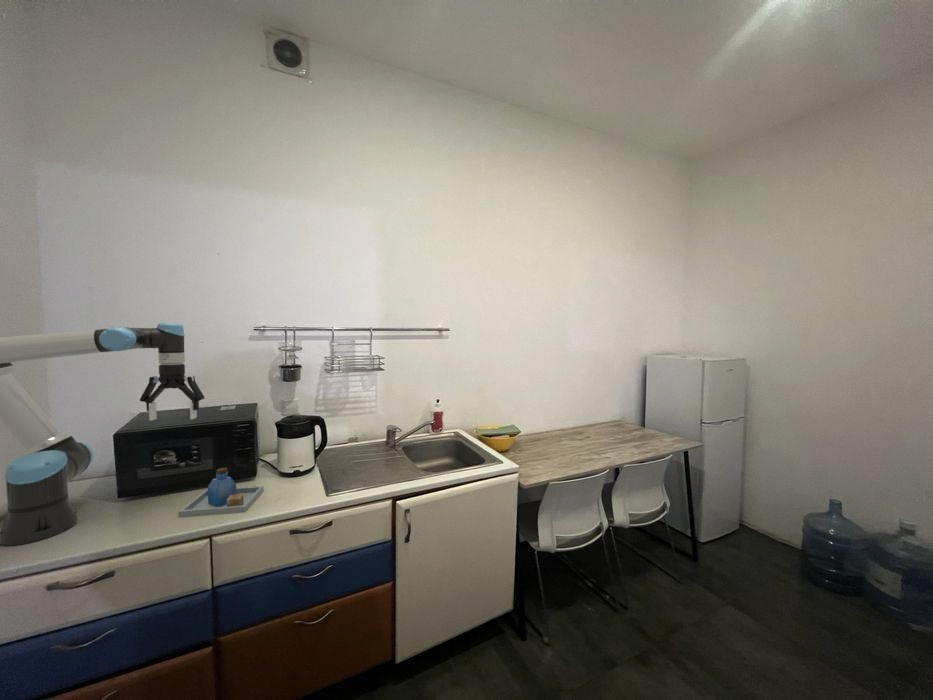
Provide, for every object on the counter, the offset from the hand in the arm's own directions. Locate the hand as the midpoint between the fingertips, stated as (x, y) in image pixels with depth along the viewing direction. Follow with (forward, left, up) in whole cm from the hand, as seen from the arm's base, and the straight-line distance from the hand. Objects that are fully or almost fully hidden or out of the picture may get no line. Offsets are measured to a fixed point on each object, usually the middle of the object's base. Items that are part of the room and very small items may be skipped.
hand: (173, 419), depth 130 cm
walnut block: (+29, -17, -28) cm, 44 cm away
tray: (+23, -13, -29) cm, 39 cm away
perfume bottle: (+22, -12, -28) cm, 38 cm away
